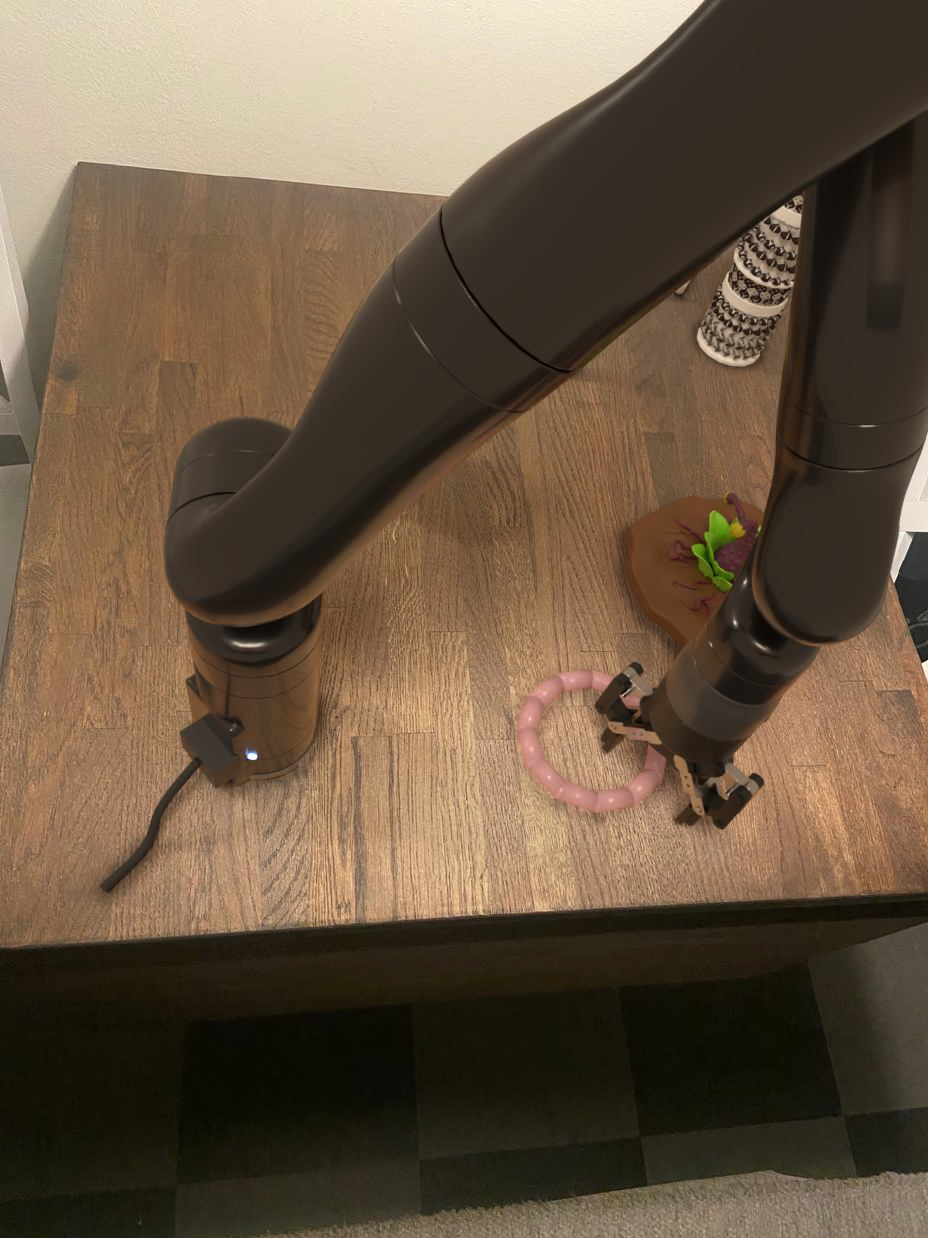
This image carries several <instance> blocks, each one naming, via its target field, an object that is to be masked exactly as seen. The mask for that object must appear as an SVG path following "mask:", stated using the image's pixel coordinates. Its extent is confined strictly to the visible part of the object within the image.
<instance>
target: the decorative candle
mask: <svg viewBox="0 0 928 1238" xmlns="http://www.w3.org/2000/svg"><path fill="white" fill-rule="evenodd" d="M803 193H804V191H803V192H802V193H801V194H799V195H798V196H796V197H795V198H793V199H792V200H790V201H789V202H788V203H786V204H785V205H784V206H782V207H781V208H779V209H778V210H777V211H775V212H774V213H773V214H771V215H770V216H768V217H767V218H766V219H764V220H763V221H762V222H761V223H759V224H758V225H757V226H756V227H754V228H753V229H752V230H751V231H749V232H748V233H747V234H746V235H744V236H743V237H742V238H741V239H739V240H738V241H739V242H737V245H736V248H735V249H734V254H733V260H734V261H733V263H732V266H731V269H730V270H729V271H728V272H726V275H725V277H724V279H723V281H722V282H720V283H719V284H718V286H717V289H716V291H715V294H714V295H713V299H712V300H711V303H710V305H708V307H707V309H706V312H705V315H704V317H703V318H702V321H701V323H700V327H699V328H697V329H698V330H697V335H696V340H697V343H698V346H699V347H700V349H701V350H702V351H703V352H704V353H705V354H706V355H707V356H708V357H710V358H711V359H713V360H714V361H716V362H718V363H720V364H724V365H726V366H729V367H746V366H748V365H749V366H750V365H753V364H754V363H755V362H756V361H757V360H758V359H759V358H760V356H761V351H764V350H765V347H764V346H765V344H766V343H767V342H768V341H770V339H771V338H770V336H769V335H771V334H772V332H773V331H772V330H774V329H776V327H777V323H778V320H780V319H781V318H782V317H783V312H784V307H785V306H786V304H787V302H788V300H789V295H790V293H791V291H793V284H794V276H795V268H796V259H797V251H798V243H799V233H800V224H801V215H802V205H803Z"/></svg>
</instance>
